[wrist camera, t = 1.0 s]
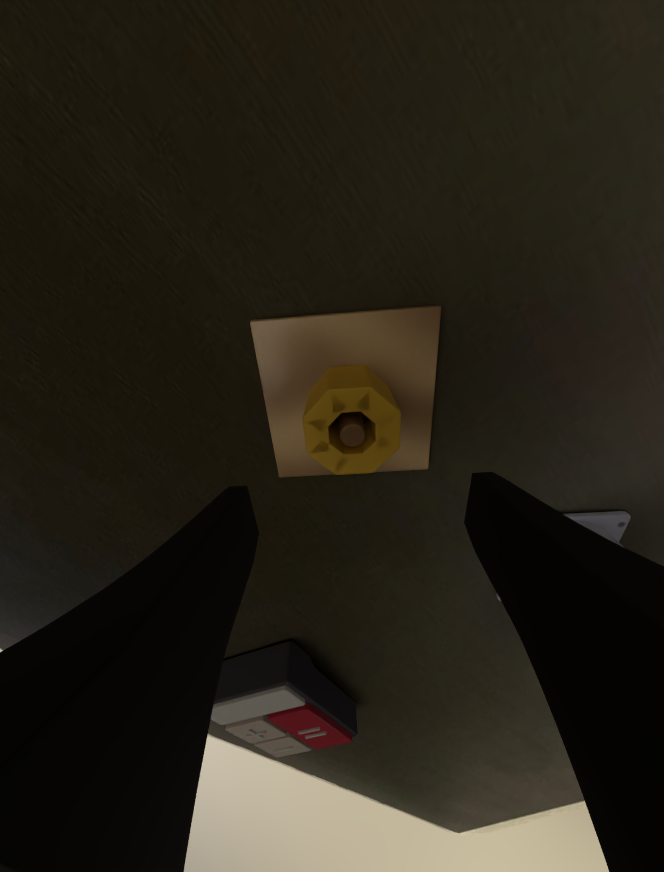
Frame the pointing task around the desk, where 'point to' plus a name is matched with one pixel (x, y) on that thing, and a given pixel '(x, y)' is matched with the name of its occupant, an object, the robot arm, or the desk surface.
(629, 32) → the desk surface
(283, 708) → the calculator
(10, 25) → the desk surface
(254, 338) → the stand
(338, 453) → the sleeve
